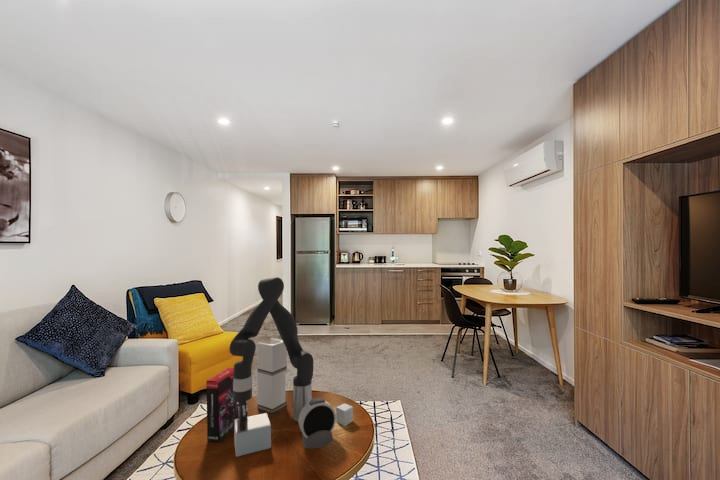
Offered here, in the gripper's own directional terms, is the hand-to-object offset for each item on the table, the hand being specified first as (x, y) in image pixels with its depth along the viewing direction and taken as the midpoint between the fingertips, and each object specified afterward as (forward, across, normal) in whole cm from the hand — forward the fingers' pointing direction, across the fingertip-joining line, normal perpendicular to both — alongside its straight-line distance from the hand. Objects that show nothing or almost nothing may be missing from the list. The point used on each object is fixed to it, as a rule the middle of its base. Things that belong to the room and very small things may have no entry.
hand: (242, 429), depth 137 cm
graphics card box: (+11, +22, +6) cm, 26 cm away
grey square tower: (+11, +39, -20) cm, 45 cm away
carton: (+11, +6, -5) cm, 13 cm away
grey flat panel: (+10, 0, -5) cm, 11 cm away
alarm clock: (+11, -4, -31) cm, 34 cm away
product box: (+11, +6, -49) cm, 50 cm away
